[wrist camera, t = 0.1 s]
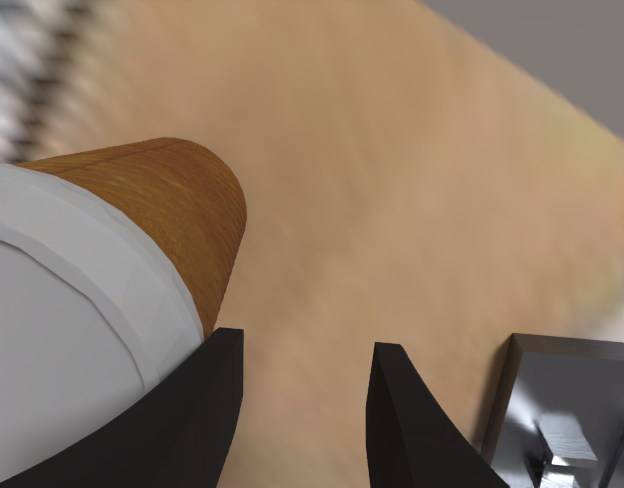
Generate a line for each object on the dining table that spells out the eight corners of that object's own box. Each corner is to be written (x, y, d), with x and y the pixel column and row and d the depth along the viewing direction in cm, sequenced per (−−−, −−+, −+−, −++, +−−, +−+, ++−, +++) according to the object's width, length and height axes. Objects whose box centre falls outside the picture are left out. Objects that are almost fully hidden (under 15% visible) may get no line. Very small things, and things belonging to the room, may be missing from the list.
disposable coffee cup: (205, 334, 24) (68, 581, 13) (42, 214, 23) (-269, 385, 12) (327, 198, 21) (276, 385, 10) (143, 45, 19) (-168, 62, 8)
